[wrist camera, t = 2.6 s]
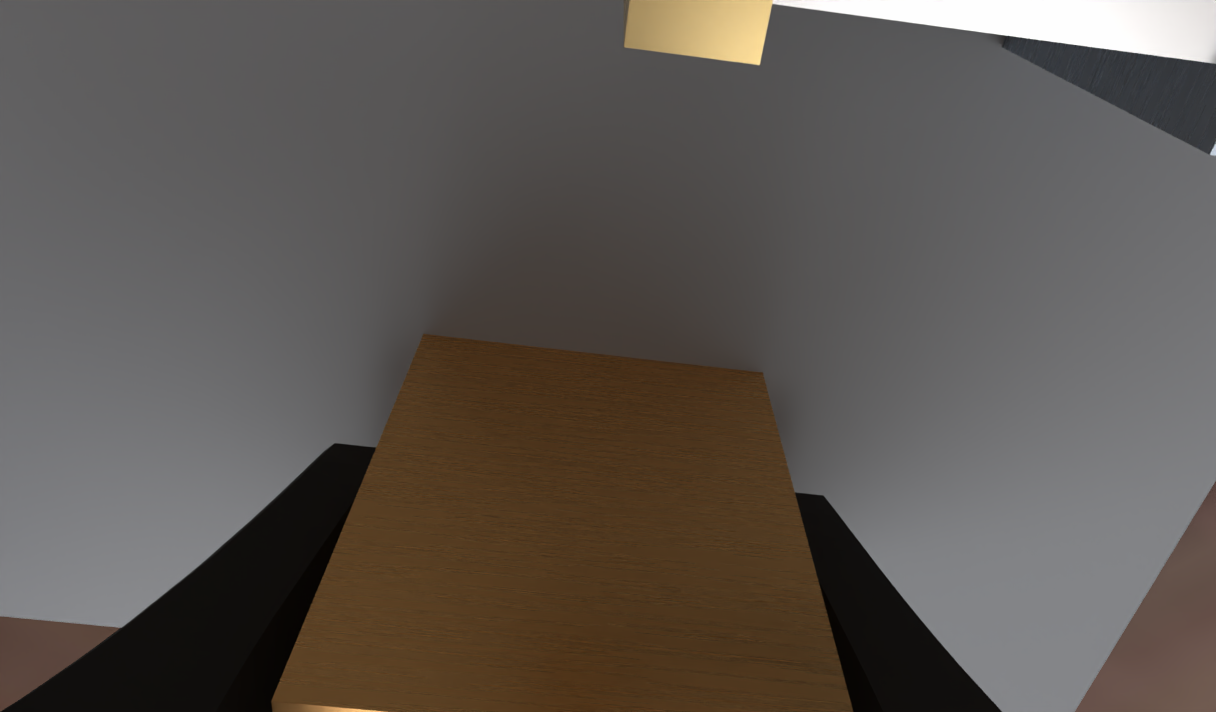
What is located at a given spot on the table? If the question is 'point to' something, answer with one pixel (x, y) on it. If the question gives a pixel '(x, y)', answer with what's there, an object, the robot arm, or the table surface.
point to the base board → (602, 283)
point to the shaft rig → (1035, 30)
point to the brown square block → (569, 548)
